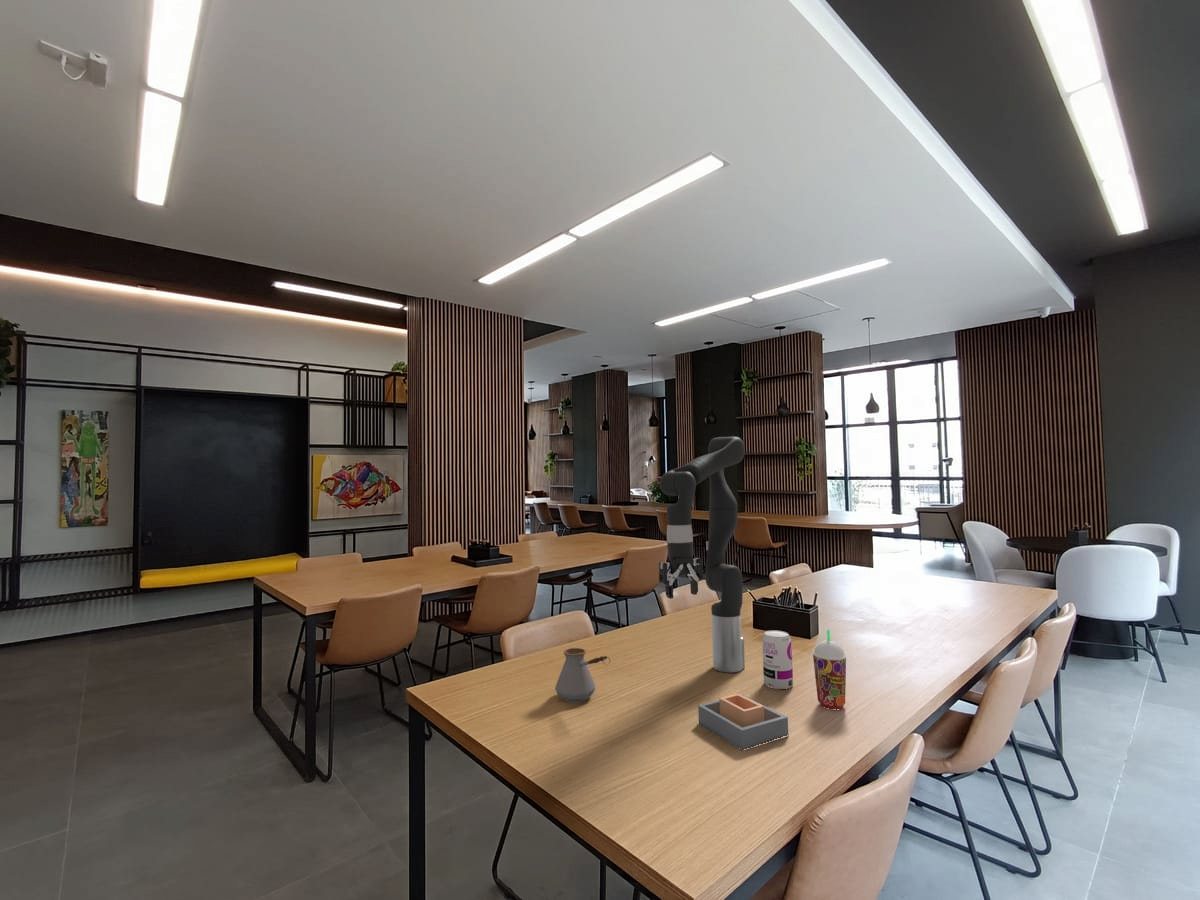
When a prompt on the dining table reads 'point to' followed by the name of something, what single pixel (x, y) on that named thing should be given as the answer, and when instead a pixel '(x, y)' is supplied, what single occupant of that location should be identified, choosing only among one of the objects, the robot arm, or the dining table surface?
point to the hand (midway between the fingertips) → (682, 596)
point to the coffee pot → (576, 676)
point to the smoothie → (830, 673)
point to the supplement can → (777, 659)
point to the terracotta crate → (741, 710)
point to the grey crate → (745, 736)
